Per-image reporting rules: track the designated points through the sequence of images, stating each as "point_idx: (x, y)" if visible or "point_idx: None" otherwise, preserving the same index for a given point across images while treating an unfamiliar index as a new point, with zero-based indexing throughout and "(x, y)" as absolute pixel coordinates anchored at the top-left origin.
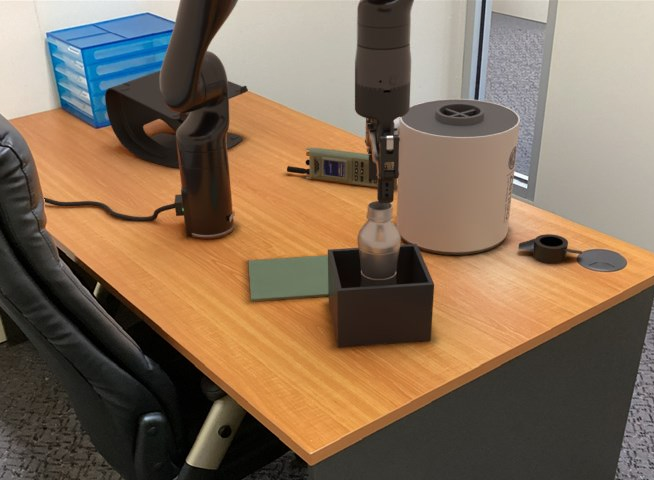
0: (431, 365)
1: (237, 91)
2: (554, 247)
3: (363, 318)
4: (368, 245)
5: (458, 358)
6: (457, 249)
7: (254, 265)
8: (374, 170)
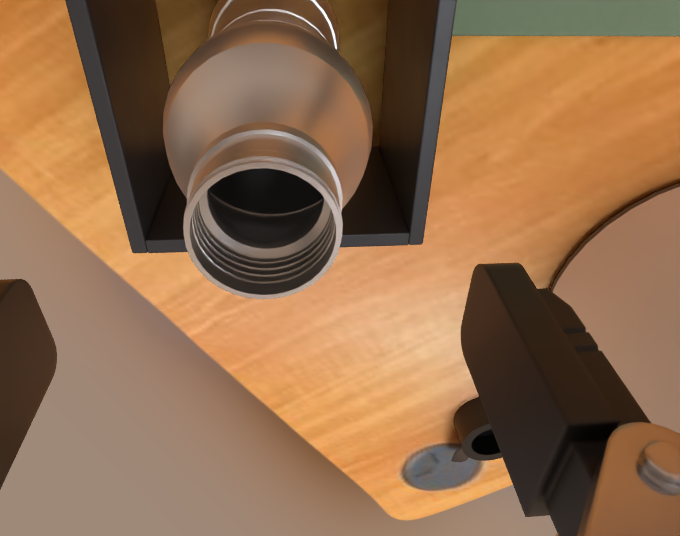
0: (54, 141)
1: None
2: (468, 442)
3: None
4: (177, 76)
5: (96, 206)
6: (557, 291)
7: None
8: (493, 343)
